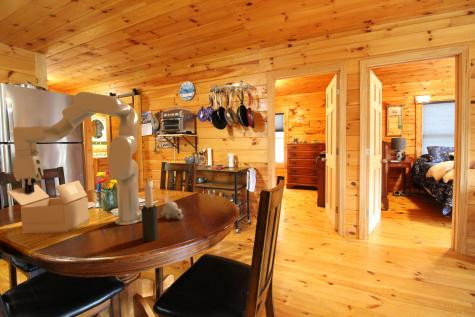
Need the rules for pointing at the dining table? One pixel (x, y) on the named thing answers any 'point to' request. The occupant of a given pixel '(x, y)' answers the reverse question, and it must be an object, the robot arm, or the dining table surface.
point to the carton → (54, 215)
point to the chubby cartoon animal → (171, 210)
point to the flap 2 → (71, 191)
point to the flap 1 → (27, 195)
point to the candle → (149, 215)
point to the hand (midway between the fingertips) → (29, 192)
